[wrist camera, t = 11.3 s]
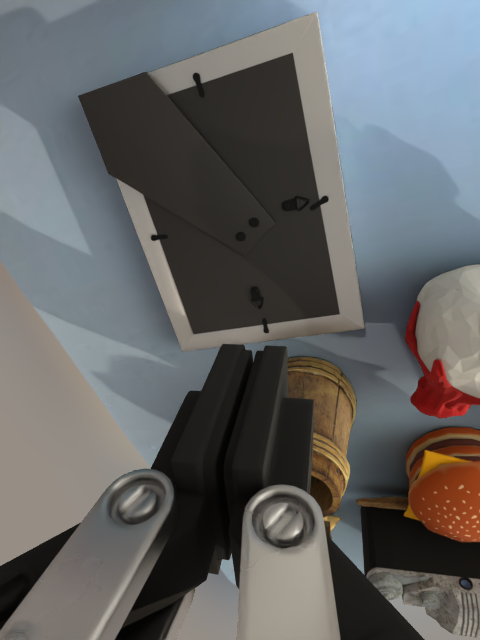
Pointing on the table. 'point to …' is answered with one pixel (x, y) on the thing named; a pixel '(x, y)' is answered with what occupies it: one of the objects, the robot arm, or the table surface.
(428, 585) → the camera
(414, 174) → the table surface
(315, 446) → the wooden mug
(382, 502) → the brown wooden stick
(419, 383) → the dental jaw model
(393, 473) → the table surface
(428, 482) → the hamburger
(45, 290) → the table surface
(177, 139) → the picture frame
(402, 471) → the table surface
